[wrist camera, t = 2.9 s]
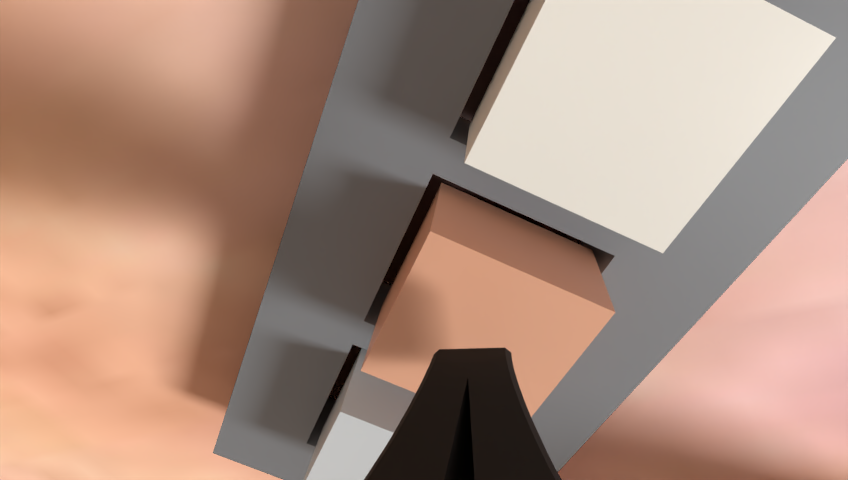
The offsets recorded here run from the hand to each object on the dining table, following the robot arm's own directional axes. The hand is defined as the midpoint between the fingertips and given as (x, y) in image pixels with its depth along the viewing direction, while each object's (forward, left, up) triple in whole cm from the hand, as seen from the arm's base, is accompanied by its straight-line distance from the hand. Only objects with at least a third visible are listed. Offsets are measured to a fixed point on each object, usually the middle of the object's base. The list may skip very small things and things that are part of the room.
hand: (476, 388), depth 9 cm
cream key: (0, -6, -4) cm, 7 cm away
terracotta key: (0, 0, -4) cm, 4 cm away
